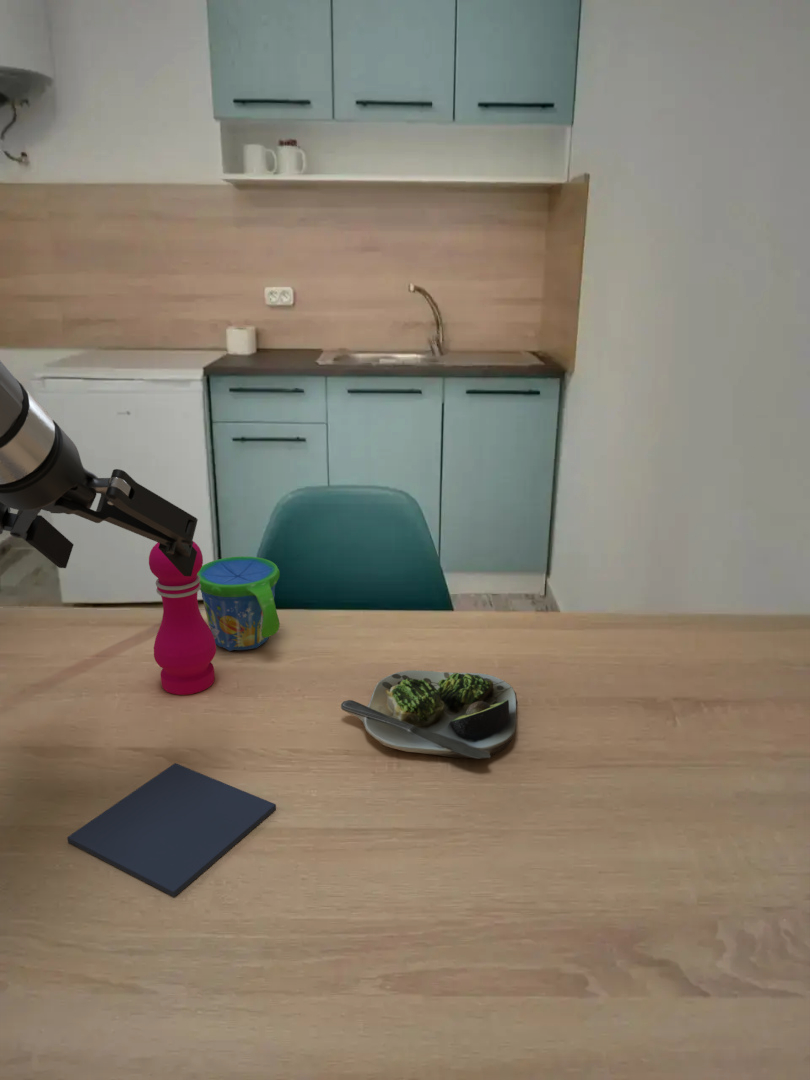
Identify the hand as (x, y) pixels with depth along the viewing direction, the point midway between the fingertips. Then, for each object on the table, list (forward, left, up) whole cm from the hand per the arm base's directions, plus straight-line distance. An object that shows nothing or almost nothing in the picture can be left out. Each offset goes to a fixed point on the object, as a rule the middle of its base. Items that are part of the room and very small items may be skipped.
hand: (127, 560), depth 84 cm
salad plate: (+27, +18, -20) cm, 38 cm away
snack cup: (-6, +22, -20) cm, 30 cm away
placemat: (+14, -10, -20) cm, 26 cm away
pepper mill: (-4, +10, -20) cm, 22 cm away
